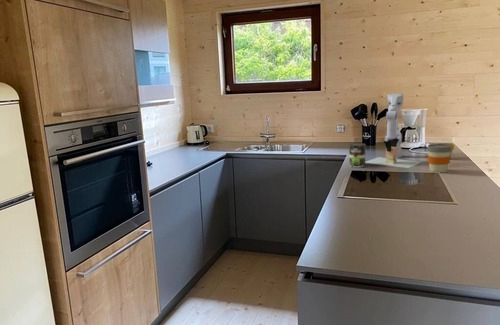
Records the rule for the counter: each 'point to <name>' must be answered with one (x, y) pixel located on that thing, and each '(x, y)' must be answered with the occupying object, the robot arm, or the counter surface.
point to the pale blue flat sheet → (398, 163)
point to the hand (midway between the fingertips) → (391, 150)
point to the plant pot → (450, 145)
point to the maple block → (391, 159)
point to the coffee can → (357, 154)
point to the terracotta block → (392, 151)
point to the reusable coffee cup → (439, 157)
